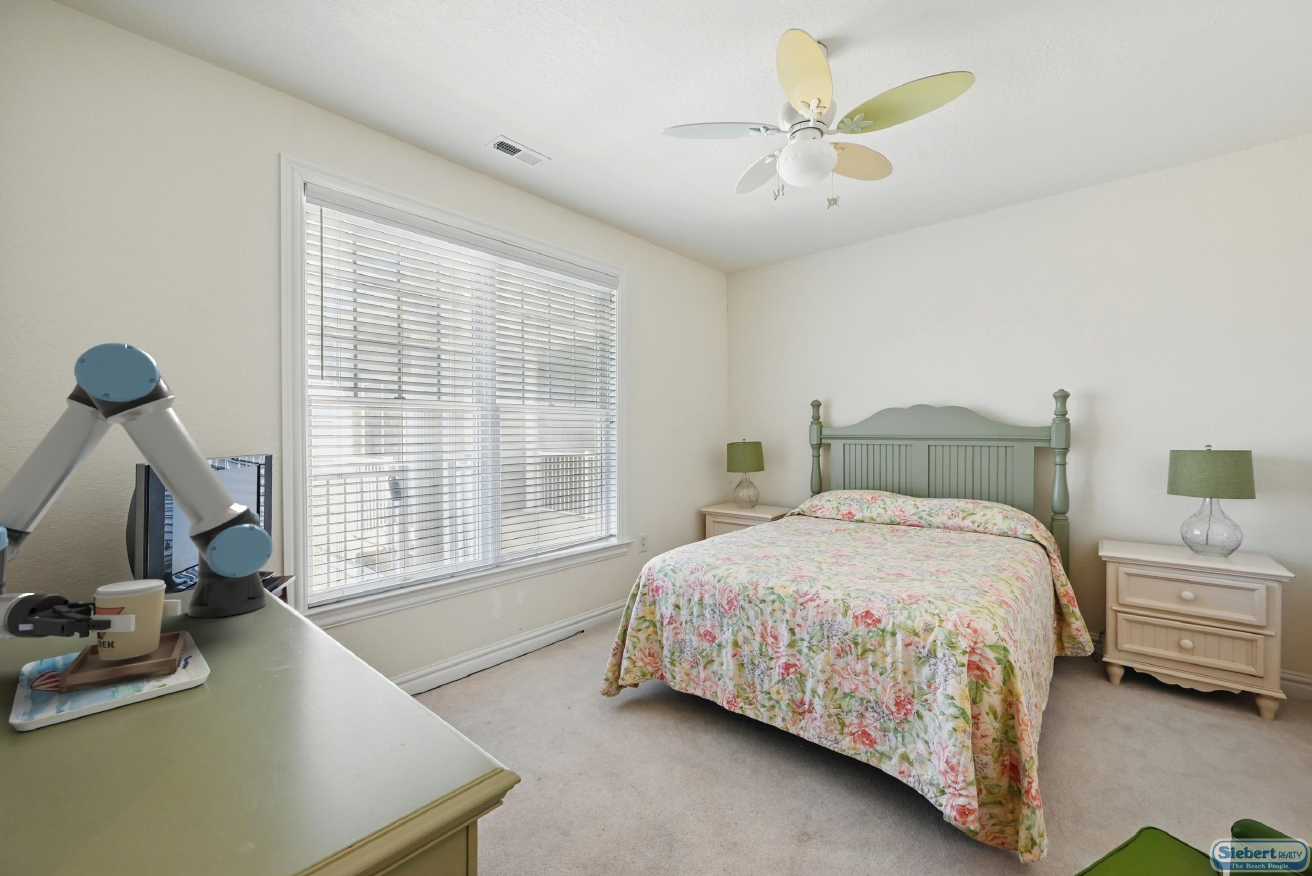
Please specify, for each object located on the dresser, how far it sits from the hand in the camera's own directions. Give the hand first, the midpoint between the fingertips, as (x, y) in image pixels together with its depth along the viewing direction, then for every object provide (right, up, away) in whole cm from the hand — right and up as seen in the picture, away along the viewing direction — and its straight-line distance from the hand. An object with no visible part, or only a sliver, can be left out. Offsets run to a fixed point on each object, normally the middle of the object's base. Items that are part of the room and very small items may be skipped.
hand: (157, 615), depth 99 cm
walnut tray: (-5, -9, 0) cm, 10 cm away
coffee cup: (-5, -7, 0) cm, 8 cm away
